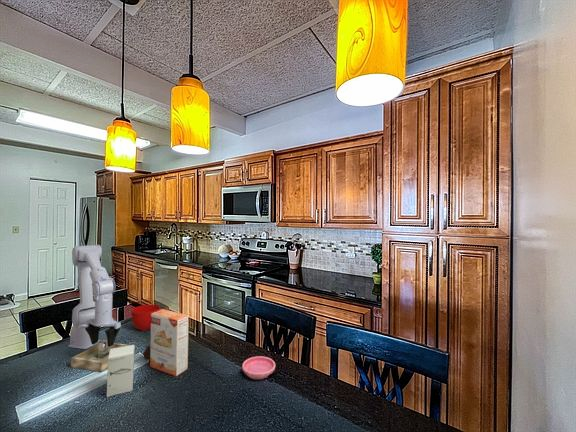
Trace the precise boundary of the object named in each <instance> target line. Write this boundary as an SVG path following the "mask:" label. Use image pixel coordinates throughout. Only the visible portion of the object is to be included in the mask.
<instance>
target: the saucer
mask: <svg viewBox="0 0 576 432" xmlns="http://www.w3.org/2000/svg"><path fill="white" fill-rule="evenodd" d="M241 369H242V372H243V373H244V374H245V375H246V376H247V377H248V378H250V379H252V380H264V378H265V379H267V378H268V376H269V375H270V374H271V375H272V374H273V373H274V371H276V362H275V361H274V360H273V359H272V358H271V357H267V356H263V355H262V356H261V355H259V356H258V355H257V356H251V357H250V358H247V359H246V360H244V361H243V362H242V367H241ZM271 375H270V376H271ZM270 376H269V377H270Z"/></svg>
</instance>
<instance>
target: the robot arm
mask: <svg viewBox="0 0 576 432" xmlns="http://www.w3.org/2000/svg"><path fill="white" fill-rule="evenodd" d="M102 250H103V249H102V246H101V245H100V244H93V245H92V244H91V245H90V244H89V245H74V247H72V252H71V257H72V258H71V260H72V264H73V266H76V268H77V270H78V282H79V283H78V287H79V303H78V304H77V305H76V306H75V307H74V308H73V309H72V315H71V322H72V327H71V329H70V335H69V336H70V337H69V345H68V346H67V348H73V349H81V350H88V349H90V348H92V347H94V346H96V345H98V342H99V341H100V340H101V339H99V338H100V337H99V336H100V330H101V327H102V328H103V327H105V328H107V329H105V330H104V332H105V335H106V339H107V345H108V347H110V346H112V345H114V343H115V341H116V338H117V335H118V333H119V332H120V330H121V328H122V326H121V324H122V323H121V322H120V321H117V320H115V319H114V317H113V297H114V296H113V294H115V291H116V282H115V279H114V278H112V277H110V276H109V274H108V272H107V269H106V268H105V267H103V266H102V264H101V260H100V259H101V256H102V255H103V254H102V253H103V251H102Z"/></svg>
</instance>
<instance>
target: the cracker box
mask: <svg viewBox="0 0 576 432" xmlns="http://www.w3.org/2000/svg"><path fill="white" fill-rule="evenodd" d="M189 321H190V320H189V315H188V314H186V313H185V314H184V313H179V312H176V311H173V310H172V311H171V310H168V309H164V308H162V309H160V311H156V312H154V313H152V314H151V329H150V346H151V349H150V360H149V361H150V362H149V367H150V368H153V369H155V370H159V371H161V372H163V373H165V374H168V375H171V376H173V377H178V376H179V375H181V374H182V373H184V372H185V371H187V370H188V369H189V368H188V367H189V366H188V365H189V358H188V357H189V323H190V322H189Z"/></svg>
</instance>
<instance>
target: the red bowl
mask: <svg viewBox="0 0 576 432" xmlns="http://www.w3.org/2000/svg"><path fill="white" fill-rule="evenodd" d="M160 310H161V307H160V305H158V304H145V305H138V306H136V307H134V308H132V309H131V321H132V324H133V326H134V327H135V328H136V329H137V330H138V331H141V330H143V331H144V332H145V331H149V330H151V314H152V313H154V312H156V311H160Z"/></svg>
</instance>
